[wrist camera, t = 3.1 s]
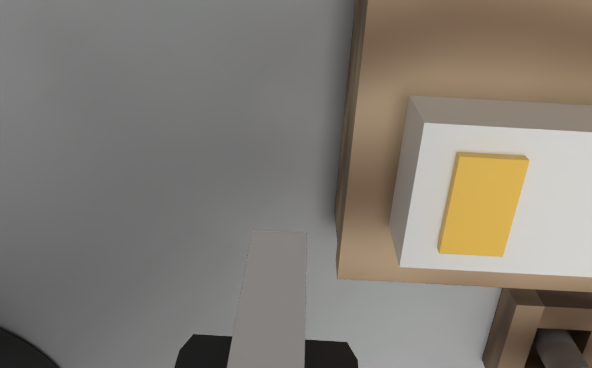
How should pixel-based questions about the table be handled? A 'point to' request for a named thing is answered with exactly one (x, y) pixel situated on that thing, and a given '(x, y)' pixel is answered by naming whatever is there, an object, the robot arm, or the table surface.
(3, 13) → the table surface
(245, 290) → the robot arm
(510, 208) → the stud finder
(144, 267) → the table surface
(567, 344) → the awl
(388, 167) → the wooden pallet
